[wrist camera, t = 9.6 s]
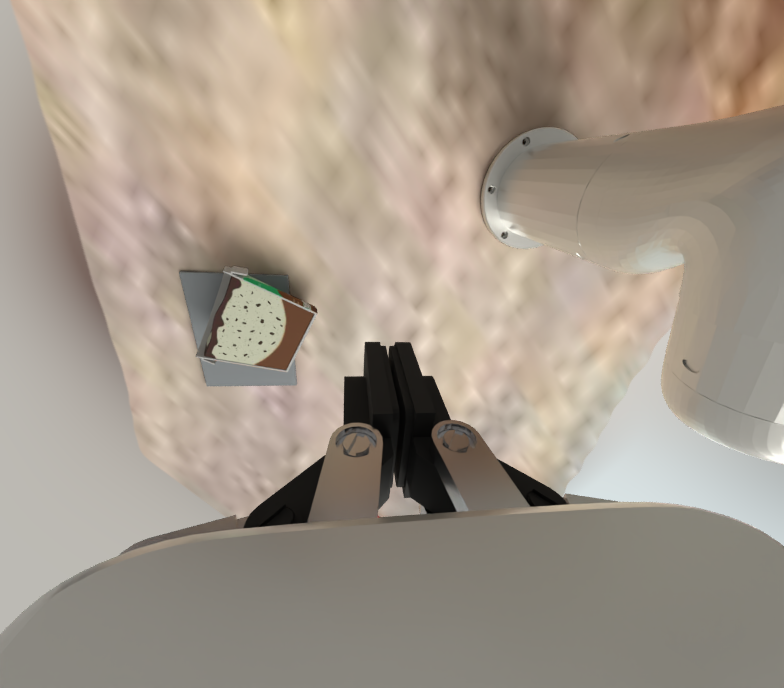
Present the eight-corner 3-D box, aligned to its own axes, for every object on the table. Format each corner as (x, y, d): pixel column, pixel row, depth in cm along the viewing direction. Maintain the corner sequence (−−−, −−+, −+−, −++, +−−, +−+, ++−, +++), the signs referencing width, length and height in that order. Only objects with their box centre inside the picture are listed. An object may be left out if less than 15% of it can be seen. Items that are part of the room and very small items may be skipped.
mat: (288, 275, 38) (287, 276, 38) (296, 383, 46) (296, 385, 46) (180, 271, 37) (178, 272, 36) (208, 384, 44) (206, 386, 44)
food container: (319, 277, 40) (234, 243, 35) (322, 302, 35) (224, 266, 30) (284, 350, 45) (206, 329, 40) (283, 380, 40) (194, 360, 36)
